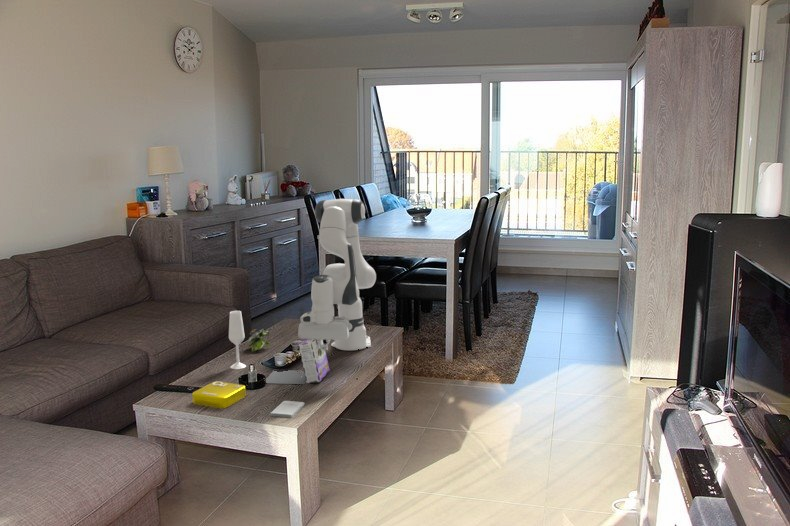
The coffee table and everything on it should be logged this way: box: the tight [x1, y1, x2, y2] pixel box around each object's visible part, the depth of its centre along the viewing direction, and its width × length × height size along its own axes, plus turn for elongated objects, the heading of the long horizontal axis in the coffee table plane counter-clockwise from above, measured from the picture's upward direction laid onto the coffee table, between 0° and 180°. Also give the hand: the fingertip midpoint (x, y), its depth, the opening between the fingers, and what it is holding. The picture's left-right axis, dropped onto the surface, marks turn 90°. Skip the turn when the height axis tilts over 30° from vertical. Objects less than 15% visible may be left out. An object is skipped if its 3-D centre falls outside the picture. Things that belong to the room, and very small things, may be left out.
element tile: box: [191, 380, 247, 409], centre depth 260 cm, size 15×15×5 cm
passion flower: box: [247, 328, 271, 353], centre depth 323 cm, size 11×11×12 cm
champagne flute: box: [228, 310, 247, 370], centre depth 296 cm, size 7×7×24 cm
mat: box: [265, 369, 307, 386], centre depth 284 cm, size 16×17×1 cm
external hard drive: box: [269, 400, 305, 419], centre depth 249 cm, size 2×8×12 cm
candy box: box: [297, 339, 331, 384], centre depth 281 cm, size 14×6×16 cm, turn 168°
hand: (324, 349), depth 280 cm, fingers closed
